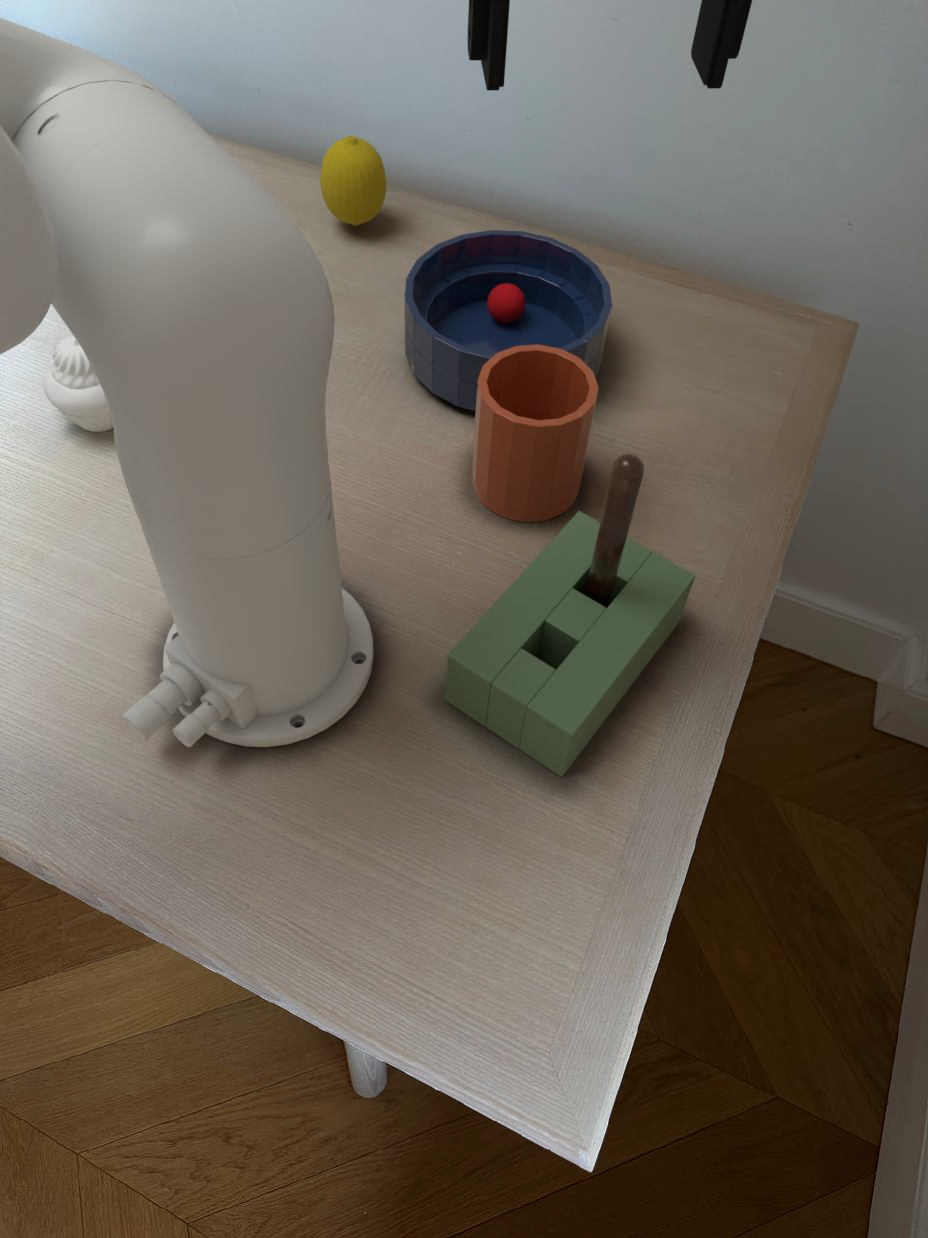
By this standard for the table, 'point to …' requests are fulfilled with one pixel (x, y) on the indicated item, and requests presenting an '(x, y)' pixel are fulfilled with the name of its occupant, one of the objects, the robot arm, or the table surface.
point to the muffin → (76, 387)
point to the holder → (565, 645)
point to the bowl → (460, 320)
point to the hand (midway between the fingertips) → (599, 74)
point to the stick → (614, 527)
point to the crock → (532, 431)
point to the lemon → (353, 180)
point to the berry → (506, 303)
